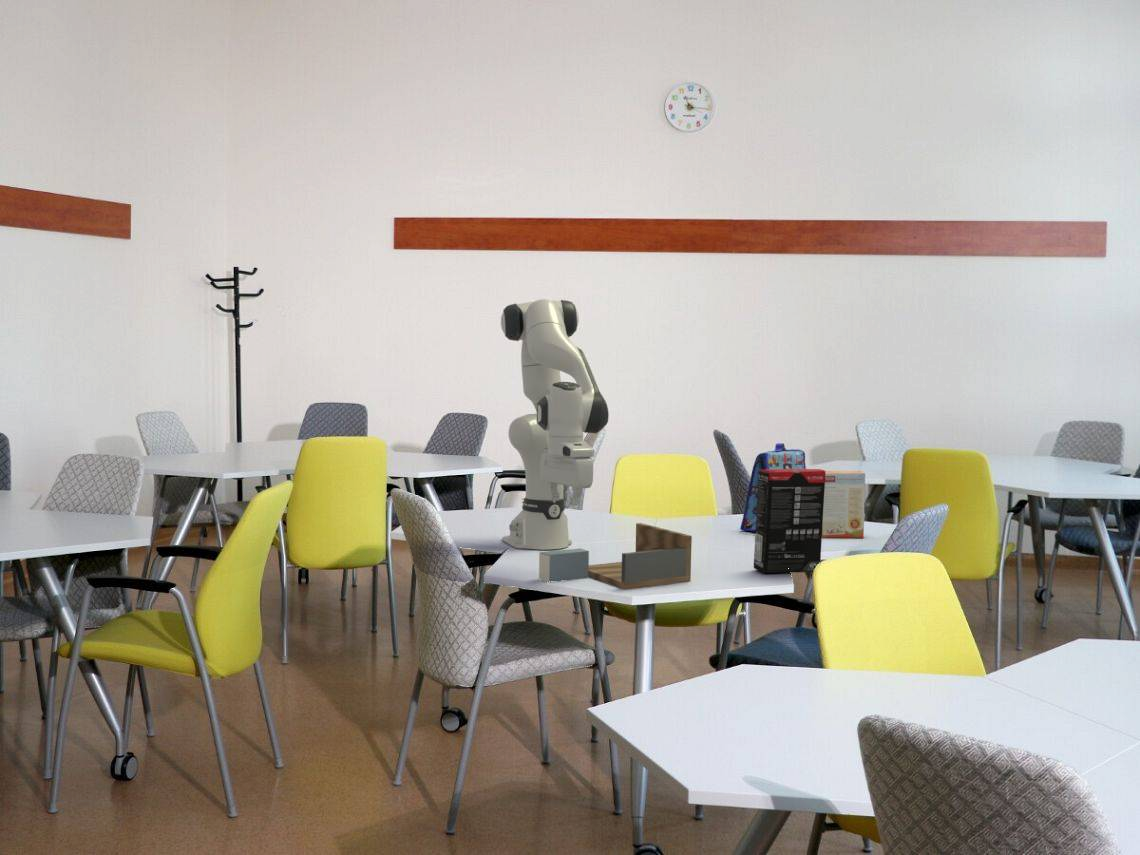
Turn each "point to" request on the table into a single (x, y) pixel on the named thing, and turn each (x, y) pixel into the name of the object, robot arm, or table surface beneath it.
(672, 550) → the grey thin upright panel
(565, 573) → the grey rectangular box
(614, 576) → the shelf
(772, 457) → the lunch bag
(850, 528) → the cracker box
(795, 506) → the graphics card box
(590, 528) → the table surface
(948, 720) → the table surface
